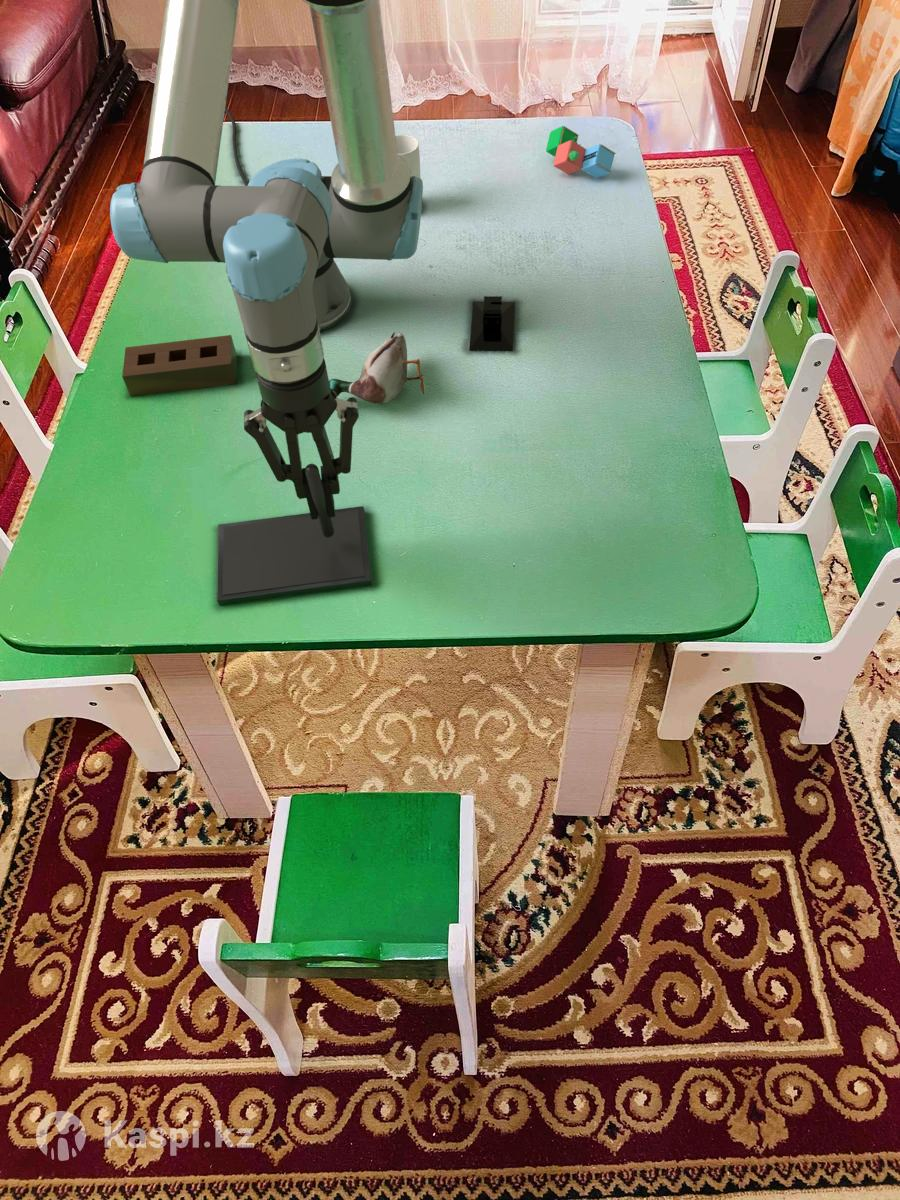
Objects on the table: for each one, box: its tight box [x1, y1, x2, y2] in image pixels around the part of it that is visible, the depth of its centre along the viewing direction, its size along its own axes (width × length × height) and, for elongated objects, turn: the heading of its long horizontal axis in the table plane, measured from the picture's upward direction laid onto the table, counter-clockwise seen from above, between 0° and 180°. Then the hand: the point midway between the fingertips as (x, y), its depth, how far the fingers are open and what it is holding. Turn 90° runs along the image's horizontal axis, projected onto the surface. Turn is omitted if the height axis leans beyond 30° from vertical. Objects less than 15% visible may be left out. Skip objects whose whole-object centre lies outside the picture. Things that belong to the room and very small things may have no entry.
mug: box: [395, 134, 422, 180], centre depth 166 cm, size 10×7×12 cm, turn 109°
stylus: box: [304, 463, 334, 538], centre depth 114 cm, size 2×2×16 cm
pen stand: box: [121, 334, 238, 397], centre depth 144 cm, size 7×17×4 cm, turn 98°
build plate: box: [467, 295, 516, 353], centre depth 148 cm, size 12×7×5 cm, turn 176°
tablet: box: [216, 505, 373, 606], centre depth 123 cm, size 13×20×1 cm, turn 98°
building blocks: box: [545, 125, 617, 179], centre depth 174 cm, size 8×8×12 cm
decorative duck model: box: [329, 331, 425, 405], centre depth 140 cm, size 15×8×15 cm
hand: (322, 510), depth 117 cm, fingers closed on stylus, 1 cm apart
